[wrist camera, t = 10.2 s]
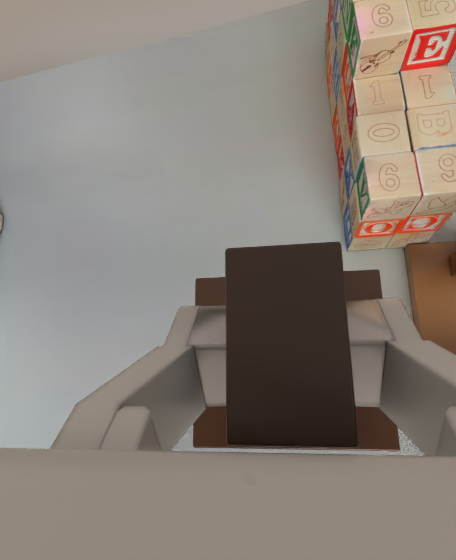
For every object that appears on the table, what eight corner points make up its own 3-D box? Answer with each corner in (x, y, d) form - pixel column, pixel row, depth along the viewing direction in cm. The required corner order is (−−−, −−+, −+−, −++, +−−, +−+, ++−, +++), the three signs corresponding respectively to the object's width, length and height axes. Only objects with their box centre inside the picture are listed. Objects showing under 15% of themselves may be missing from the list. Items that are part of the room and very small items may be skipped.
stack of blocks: (426, 247, 31) (506, 162, 19) (345, 253, 32) (376, 175, 20) (390, 37, 37) (435, -126, 25) (323, 47, 38) (336, -105, 26)
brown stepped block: (235, 420, 19) (128, 488, 7) (234, 322, 21) (143, 220, 8) (350, 421, 19) (481, 501, 6) (341, 318, 20) (433, 199, 7)
